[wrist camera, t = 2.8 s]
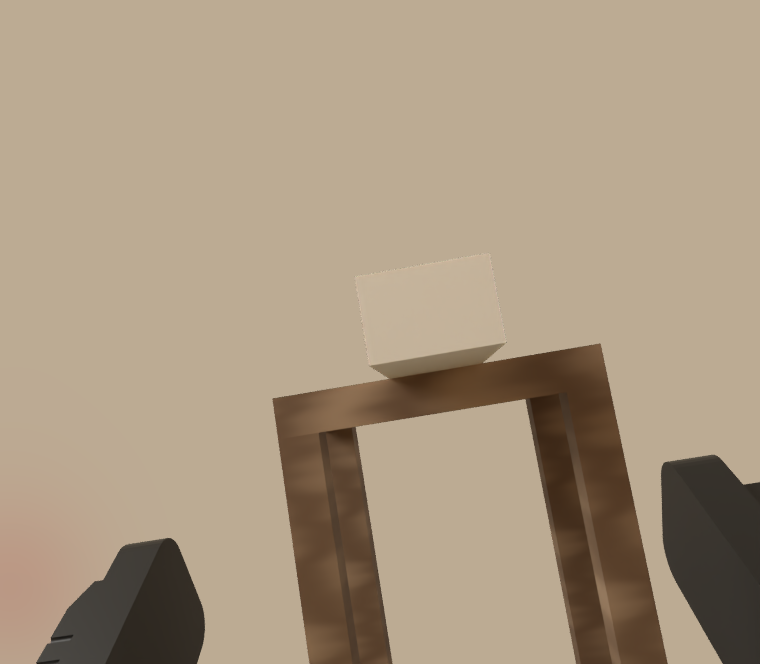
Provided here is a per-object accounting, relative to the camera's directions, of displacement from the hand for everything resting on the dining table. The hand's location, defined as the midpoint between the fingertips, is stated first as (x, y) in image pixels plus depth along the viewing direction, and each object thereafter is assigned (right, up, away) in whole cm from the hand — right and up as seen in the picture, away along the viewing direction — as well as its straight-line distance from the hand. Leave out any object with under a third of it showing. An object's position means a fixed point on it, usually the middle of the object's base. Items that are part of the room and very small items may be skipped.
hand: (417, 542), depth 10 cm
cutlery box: (+2, +1, +23) cm, 23 cm away
